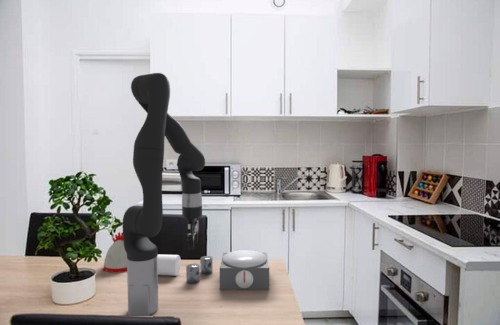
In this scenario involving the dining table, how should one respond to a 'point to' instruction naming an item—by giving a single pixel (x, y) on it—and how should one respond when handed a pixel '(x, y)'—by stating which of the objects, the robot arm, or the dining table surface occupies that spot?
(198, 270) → the cylinder
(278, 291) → the dining table surface
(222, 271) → the scale
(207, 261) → the cylinder
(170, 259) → the mug
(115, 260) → the kitchen timer
